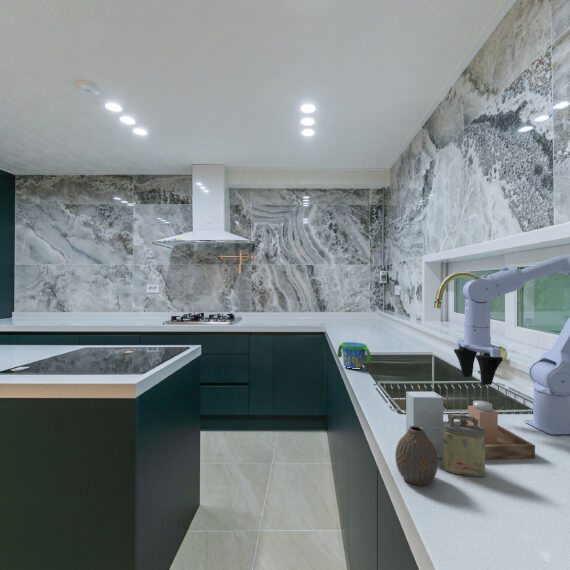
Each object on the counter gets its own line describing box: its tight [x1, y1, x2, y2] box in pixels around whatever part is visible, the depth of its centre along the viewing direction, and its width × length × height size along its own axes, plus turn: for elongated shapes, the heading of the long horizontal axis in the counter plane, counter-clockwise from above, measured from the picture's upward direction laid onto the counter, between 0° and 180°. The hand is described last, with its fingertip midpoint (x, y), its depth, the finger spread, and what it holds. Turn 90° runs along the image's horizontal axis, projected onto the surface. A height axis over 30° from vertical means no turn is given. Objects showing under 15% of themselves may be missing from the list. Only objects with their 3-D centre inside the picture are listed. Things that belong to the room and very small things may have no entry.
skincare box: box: [405, 391, 444, 459], centre depth 70 cm, size 6×4×12 cm
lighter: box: [441, 413, 486, 478], centre depth 63 cm, size 7×4×10 cm, turn 74°
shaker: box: [467, 400, 499, 445], centre depth 75 cm, size 4×4×8 cm
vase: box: [395, 426, 439, 486], centre depth 61 cm, size 7×7×9 cm
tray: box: [443, 420, 536, 460], centre depth 75 cm, size 13×13×2 cm
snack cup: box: [337, 341, 372, 368], centre depth 146 cm, size 16×10×10 cm
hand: (476, 380), depth 88 cm, fingers open, 7 cm apart
